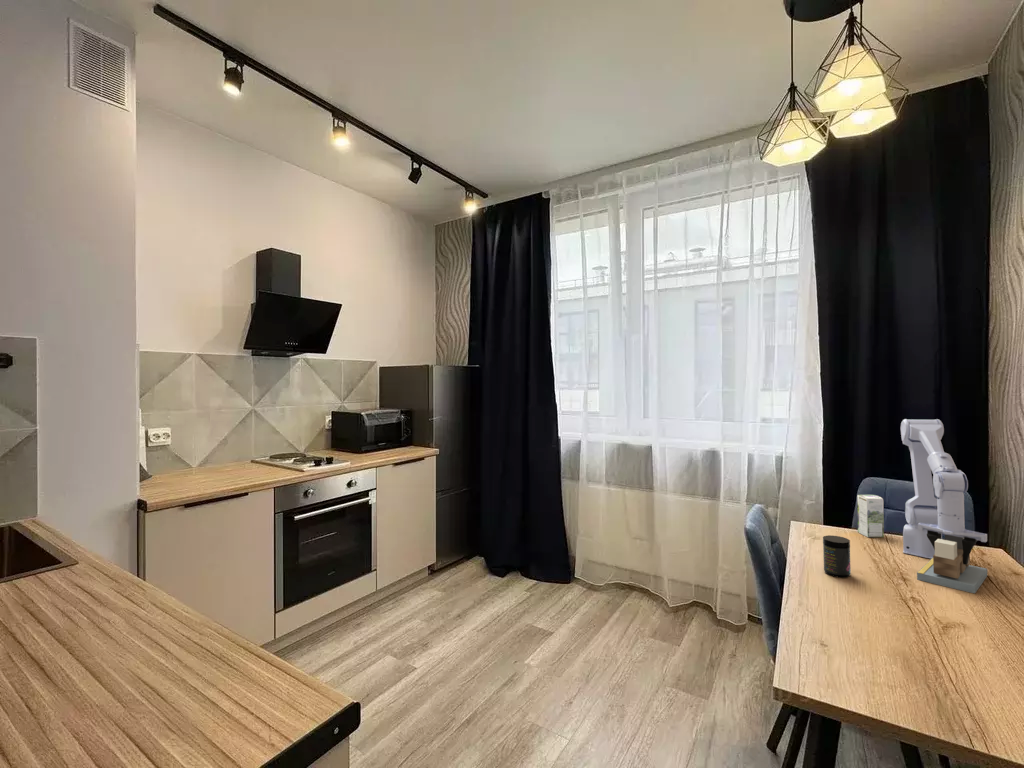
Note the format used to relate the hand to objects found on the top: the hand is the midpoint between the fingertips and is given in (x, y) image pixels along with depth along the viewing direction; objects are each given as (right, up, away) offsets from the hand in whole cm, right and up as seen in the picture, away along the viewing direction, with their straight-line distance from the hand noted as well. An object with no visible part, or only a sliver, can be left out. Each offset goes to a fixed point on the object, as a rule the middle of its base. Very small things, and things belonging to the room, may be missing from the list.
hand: (952, 560), depth 137 cm
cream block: (-5, +3, -4) cm, 7 cm away
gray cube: (+5, +3, +4) cm, 6 cm away
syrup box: (+5, -5, +38) cm, 39 cm away
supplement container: (-30, -6, +5) cm, 31 cm away
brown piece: (0, -2, 0) cm, 2 cm away
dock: (0, -5, 0) cm, 5 cm away
